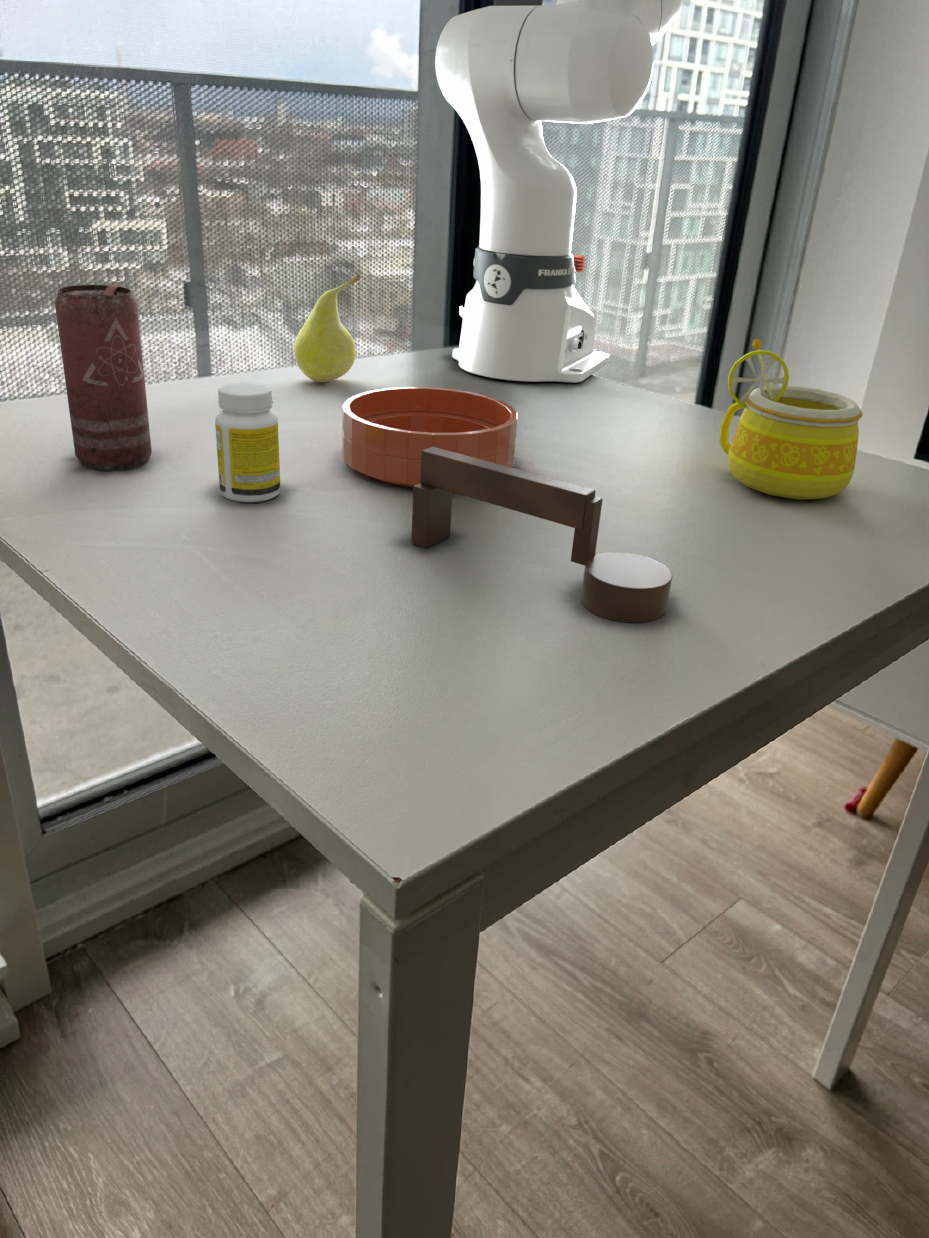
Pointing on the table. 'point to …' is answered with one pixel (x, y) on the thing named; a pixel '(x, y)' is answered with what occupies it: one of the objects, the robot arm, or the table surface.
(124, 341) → the can
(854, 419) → the mug
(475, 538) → the table surface
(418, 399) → the bowl
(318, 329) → the fruit
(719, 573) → the table surface
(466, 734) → the table surface
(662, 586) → the brown bridge
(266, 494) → the supplement bottle
